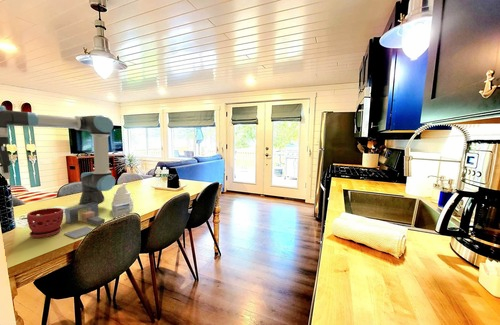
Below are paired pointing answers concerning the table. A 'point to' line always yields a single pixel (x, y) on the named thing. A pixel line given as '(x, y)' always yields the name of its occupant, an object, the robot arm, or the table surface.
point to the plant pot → (45, 222)
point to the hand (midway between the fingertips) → (1, 177)
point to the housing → (72, 212)
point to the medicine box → (121, 209)
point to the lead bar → (95, 220)
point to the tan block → (87, 215)
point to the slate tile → (79, 232)
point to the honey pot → (122, 197)
